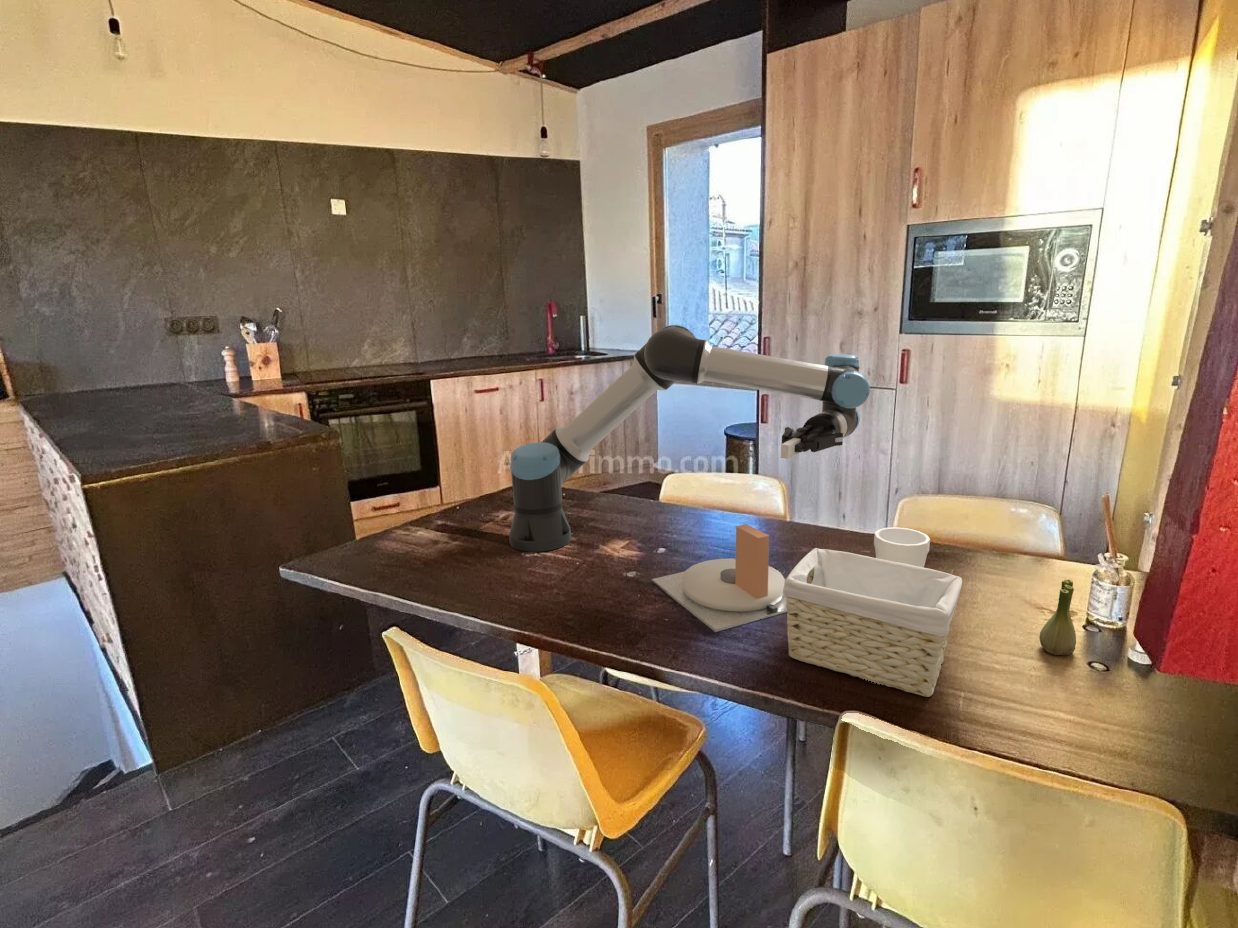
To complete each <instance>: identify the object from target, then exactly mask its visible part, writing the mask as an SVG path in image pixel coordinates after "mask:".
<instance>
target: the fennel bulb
mask: <svg viewBox="0 0 1238 928" xmlns="http://www.w3.org/2000/svg"><path fill="white" fill-rule="evenodd" d="M1073 585H1074V581H1073V580H1071V579H1066V578H1065V579H1064V580H1062V581H1061V588H1060V590H1059V595H1058V597H1059V598H1058V600H1057V601H1058V603H1057V608H1056V609H1055V610H1056V611H1055V612H1054V614H1053V615H1052V616H1051V617H1049V619H1048V620H1047V622H1046V623H1044V625H1043V627H1042V628H1041V630H1040V631H1039V642H1040V645H1041V647H1042V649H1043V650H1044V651H1045V652H1047V653H1048V654H1051V655H1054V656H1069V655H1071V654H1073V653H1074V651H1076V645H1077V637H1076V636H1077V634H1076V630H1075V626H1074V623H1073V620H1072V616H1071V613H1070V608H1071V604H1072V599H1073V595H1074V590H1075V588H1074V586H1073Z"/></svg>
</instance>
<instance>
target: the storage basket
mask: <svg viewBox="0 0 1238 928" xmlns="http://www.w3.org/2000/svg"><path fill="white" fill-rule="evenodd" d="M785 579H786V580H785V583H784V588H783V593H784V595H785V596H787V597H786V608H787V612H786V613H787V614H786V620H787V622H786V624H787V642H788V643H787V644H788V656H789V657H790V658H792V659H795V660H796V661H797V660H798V661H800V662H804V663H806V664H811V665H815V666H817V667H822V668H826V669H829V670H832V671H834V672H839V673H844V674H847V675H850V676H851V677H854V678H855V677H858V679H862V680H864V679H865V681H867V680H868V681H867V682H869V681H871V682H870V683H872V682H874V683H873V684H876V683H877V684H876V685H880V684H881V685H880V686H886V687H889V688H890V687H891V688H894V689H898V690H901V691H903V692H906V693H912V694H915V695H918V696H922V697H926V698H929V697H932V695H933V694H934V692H935V687H936V685H937V681H938V678H939V677H940V676H939V675H940V672H941V669H942V665H943V663H944V656H945V654H946V648H947V644H948V636H949V634H950V632H951V631H950V629H951V628H950V626H951V624H952V623H953V618H954V613H955V611H956V607H957V606H958V602H959V599H960V593H961V589H962V585H963V579H962V577H960V576H958V575H954V574H952V573H948V572H944V571H940V570H937V569H932V568H927V567H924V568H923V567H919V566H914V565H909V564H904V563H898V562H893V561H888V560H882V559H877V558H876V557H871V556H867V555H862V554H858V553H853V552H848V551H844V550H843V551H840V550H833V549H826V548H823V549H822V548H818V547H814V548H813V549H812V550H811V551H809V552H808V553H806V555H805V556H803V558H802V559H800V560H799V561H798V563H797V564H796V565H795V566H794V568H793V569H792V570H791V571H790V573H789V574H788V575H787V577H786V578H785ZM941 664H942V665H941Z"/></svg>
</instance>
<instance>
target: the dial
mask: <svg viewBox="0 0 1238 928" xmlns="http://www.w3.org/2000/svg"><path fill="white" fill-rule="evenodd" d="M769 554H770V535H769V534H767V533H765V532H763V531H762V530H759V529H757V528H755V527H753V526H752V525H750V524H746V523H745V524H742V525H741V524H740V525H736V527H735V558H717V559H709V560H704V561H701V562H698V563H696V564H694V565H691V566H690V567H688V568H687V569H686V570H685V571H683V572H684V574H683V591H684V593H685V594H686V596H687V597H689V598H690V599H691V600H693V601H694V602H696V603H698V604H701V605H703V606H706V607H709V608H713V609H718V610H725V611H752V610H758V609H763V608H766V607H767V606H768V605H771V604H772V605H774V604H776V603H777V602H779V601H780V600H781V599H782V598H783V596H784V593H783V588H784V583H785V579H786V578H785V577H784V576H783V574H782V573H781V572H780V571H778V570H777V569H775V568H774V567H772V566H770V565H769V564H770V561H769V559H770V555H769Z"/></svg>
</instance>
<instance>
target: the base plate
mask: <svg viewBox="0 0 1238 928" xmlns="http://www.w3.org/2000/svg"><path fill="white" fill-rule="evenodd" d="M684 572H685V571H682V572H677V573H673V574H668V575H664V576H660V577H655V578H651V582H652V583H653V584H654V585H655V586H656V587H658V588H659V589H661V590H662V591H663V592H664V593H666V594H667V595H668V596H669V597H670V598H671V599H673V600H674V601H675V602H677V603H678V604H679V605H680V606H682V607H683V608H684V609H686V610H687V611H688V612H689V613H690V614H692V615H693V616H694V617H695V618H697V619H698V620H699V621H700V622H702V623H703V624H704V625H706V626H707V627H708V628H710V629H711V630H712V631H713V632H714V633H717V632H721V631H725V630H728V629H731V628H736V627H738V626H742V625H745V624H746V625H747V624H750V623H754V622H757V621H760V619H761V620H764V619H767V618H771V617H775V616H778V615H782V614H785V613H788V612H787V608H786V597H787V596H785V595H784V596H783V598H782V599H781V600H780V601H779V602H777V603H776V604H774V605H772V604H771V605H768V606H767V607H766V608H763V609H758V610H752V611H725V610H718V609H713V608H709V607H706V606H703V605H701V604H698V603H696V602H694V601H693V600H691V599H690V598H689V597H687V596H686V594H685V593H684V591H683V574H684ZM784 579H785V580H786V578H784Z"/></svg>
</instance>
